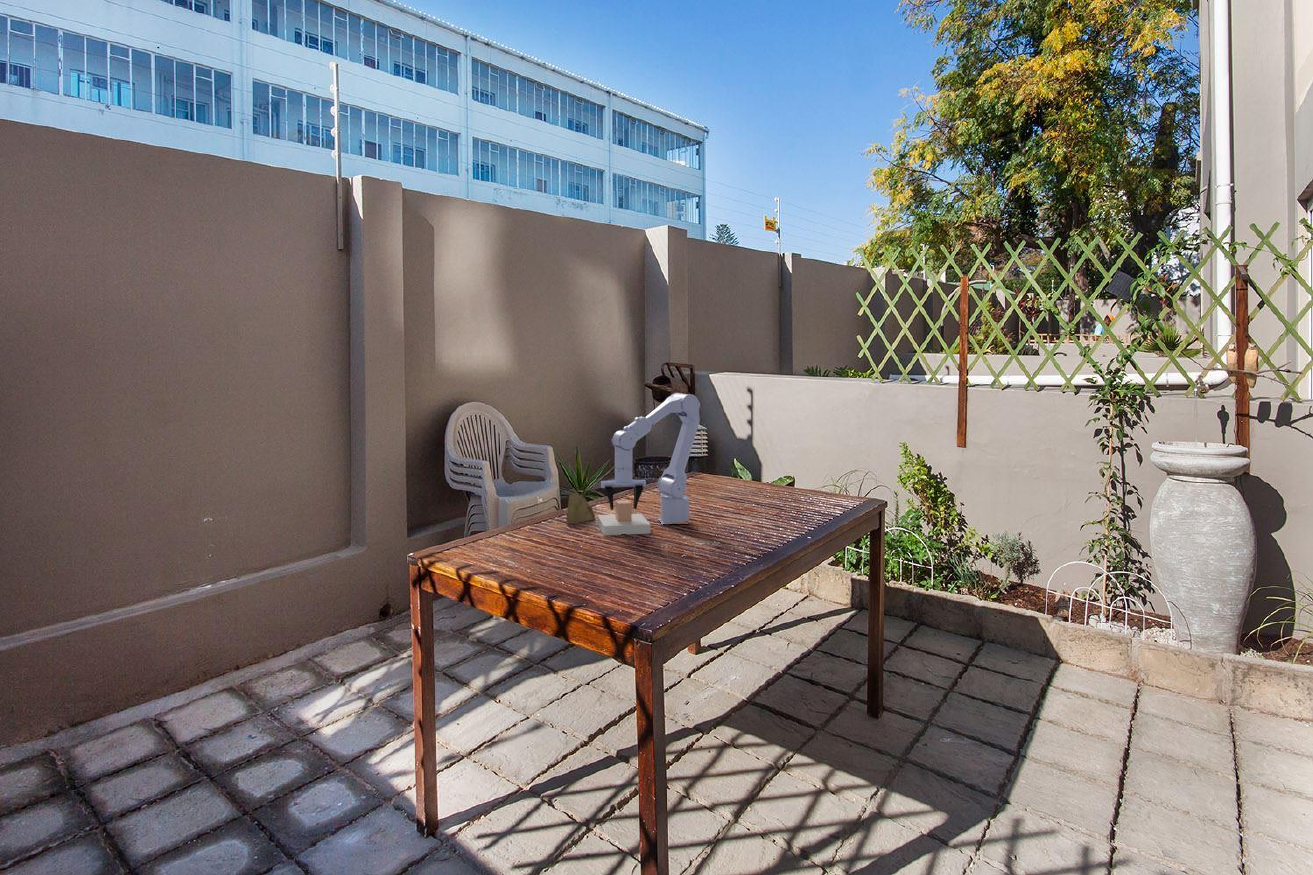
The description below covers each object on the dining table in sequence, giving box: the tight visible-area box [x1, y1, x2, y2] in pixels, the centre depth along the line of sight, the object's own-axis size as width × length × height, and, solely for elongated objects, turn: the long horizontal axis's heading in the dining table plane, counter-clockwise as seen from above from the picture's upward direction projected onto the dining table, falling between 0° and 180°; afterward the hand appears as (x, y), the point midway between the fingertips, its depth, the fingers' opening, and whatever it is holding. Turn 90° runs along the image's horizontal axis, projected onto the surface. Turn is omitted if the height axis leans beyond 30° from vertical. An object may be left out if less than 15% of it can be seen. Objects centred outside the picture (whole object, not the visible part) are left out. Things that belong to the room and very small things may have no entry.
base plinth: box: [596, 513, 651, 536], centre depth 239 cm, size 15×15×3 cm
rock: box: [565, 492, 596, 525], centre depth 248 cm, size 11×9×10 cm
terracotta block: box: [614, 499, 633, 522], centre depth 239 cm, size 4×4×6 cm
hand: (623, 508), depth 239 cm, fingers open, 7 cm apart
